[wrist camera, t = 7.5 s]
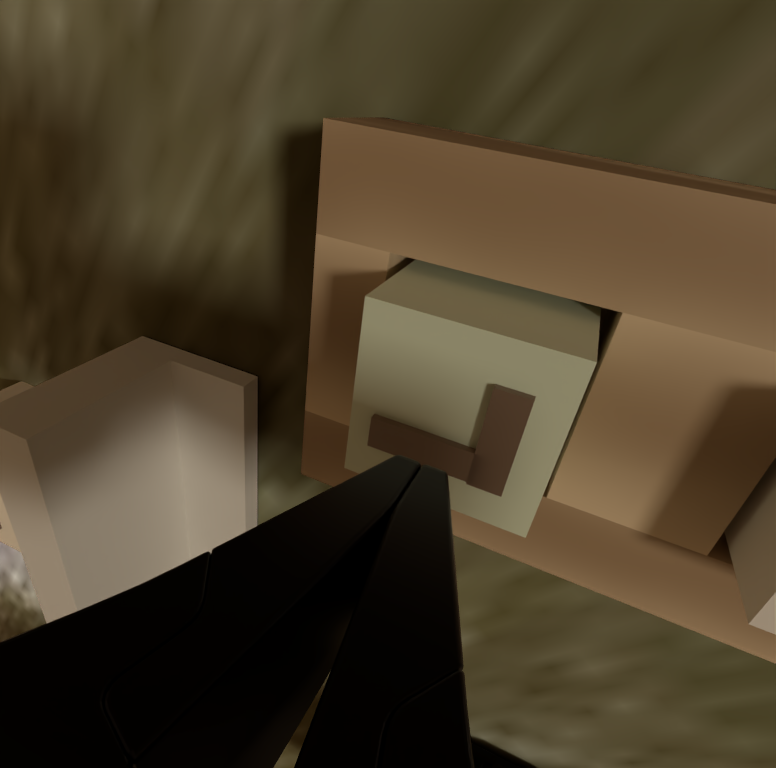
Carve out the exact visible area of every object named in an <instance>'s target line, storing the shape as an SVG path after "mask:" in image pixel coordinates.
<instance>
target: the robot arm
mask: <svg viewBox="0 0 776 768" xmlns="http://www.w3.org/2000/svg"><path fill="white" fill-rule="evenodd" d="M462 670H463V654H462V642H461V629H460V617H459V605H458V592H457V580H456V567H455V555H454V542H453V530H452V518H451V505H450V493H449V480H448V474H447V473H446V472H445V471H443V470H440V469H438V468H435V467H432V466H430V465H423V466H421V464H420V462H418V461H416V460H413V459H411V458H408V457H405V456H402V455H395V456H393V457H391V458H389V459H387V460H385V461H383V462H381V463H379V464H377V465H375V466H373V467H371V468H369V469H367V470H366V471H364V472H362V473H360V474H358V475H356V476H354V477H352V478H350V479H348V480H346V481H344V482H342V483H340V484H338V485H336V486H334V487H332V488H330V489H328V490H326V491H324V492H322V493H321V494H319V495H317V496H315V497H313V498H311V499H309V500H307V501H305V502H303V503H301V504H299V505H297V506H295V507H293V508H291V509H289V510H287V511H285V512H283V513H281V514H279V515H278V516H276V517H274V518H272V519H270V520H268V521H266V522H264V523H262V524H260V525H258V526H256V527H254V528H252V529H250V530H248V531H246V532H244V533H242V534H240V535H238V536H236V537H234V538H233V539H231V540H229V541H227V542H225V543H223V544H221V545H219V546H217V547H215V548H213V549H212V553H210V552H208V551H207V552H205V553H203V554H201V555H199V556H197V557H195V558H193V559H191V560H189V561H187V562H185V563H183V564H181V565H179V566H177V567H175V568H173V569H171V570H169V571H167V572H165V573H162V574H160V575H158V576H156V577H154V578H152V579H150V580H148V581H146V582H144V583H142V584H140V585H137V586H135V587H133V588H130V589H128V590H126V591H123V592H121V593H119V594H116V595H114V596H112V597H109V598H107V599H105V600H102V601H100V602H98V603H95V604H93V605H91V606H88V607H86V608H83V609H81V610H78V611H76V612H73V613H71V614H69V615H66V616H64V617H61V618H59V619H56V620H54V621H51V622H49V623H46V624H44V625H41V626H39V627H36V628H34V629H32V630H29V631H27V632H24V633H22V634H19V635H17V636H14V637H12V638H9V639H7V640H4V641H2V642H0V768H273V767H274V766H275V764H276V762H277V761H278V759H279V757H280V755H281V754H282V752H283V750H284V749H285V747H286V745H287V744H288V742H289V740H290V739H291V737H292V735H293V733H294V732H295V730H296V728H297V727H298V725H299V723H300V722H301V720H302V718H303V716H304V715H305V713H306V711H307V710H308V708H309V706H310V705H311V703H312V701H313V700H314V698H315V696H316V694H317V693H318V691H319V689H320V688H321V686H322V684H323V683H324V681H325V679H326V677H327V676H328V674H329V672H330V671H331V672H330V674H329V677H328V680H327V682H326V685H325V688H324V690H323V693H322V695H321V698H320V701H319V703H318V706H317V709H316V711H315V714H314V717H313V719H312V722H311V724H310V727H309V730H308V732H307V735H306V738H305V740H304V743H303V746H302V748H301V751H300V753H299V756H298V759H297V761H296V764H295V767H294V768H520V767H518V766H516V765H514V764H512V763H510V762H508V761H506V760H504V759H502V758H500V757H498V756H496V755H494V754H492V753H490V752H488V751H486V750H484V749H482V748H480V747H478V746H476V745H474V744H472V743H471V736H470V727H469V719H468V710H467V699H466V687H465V675H464V672H463V671H462Z"/></svg>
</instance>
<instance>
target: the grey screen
mask: <svg viewBox="0 0 776 768" xmlns="http://www.w3.org/2000/svg"><path fill="white" fill-rule="evenodd" d="M257 433H258V376H255V375H252V374H249V373H246V372H244V371H241V370H238V369H235V368H232V367H229V366H226V365H224V364H221V363H218V362H215V361H212V360H209V359H207V358H204V357H201V356H198V355H195V354H192V353H190V352H187V351H184V350H181V349H178V348H175V347H173V346H170V345H167V344H164V343H161V342H158V341H155V340H153V339H150V338H147V337H144V336H141V337H139V338H137V339H135V340H133V341H131V342H129V343H126V344H124V345H122V346H120V347H118V348H116V349H114V350H111V351H109V352H107V353H105V354H103V355H101V356H99V357H96V358H94V359H92V360H90V361H88V362H86V363H84V364H81V365H79V366H77V367H75V368H73V369H71V370H69V371H66V372H64V373H62V374H60V375H58V376H56V377H54V378H51V379H49V380H47V381H45V382H43V383H41V384H39V385H36V386H34V387H32V388H30V389H28V390H26V391H24V392H21V393H19V394H17V395H15V396H13V397H11V398H9V399H6V400H4V401H2V402H0V494H1V497H2V500H3V503H4V505H5V508H6V511H7V514H8V516H9V519H10V522H11V525H12V528H13V530H14V533H15V536H16V539H17V542H18V544H19V547H20V550H21V553H22V556H23V558H24V561H25V564H26V567H27V570H28V572H29V575H30V578H31V581H32V584H33V586H34V589H35V592H36V595H37V597H38V600H39V603H40V606H41V609H42V611H43V614H44V617H45V620H46V623H49V622H51V621H54V620H56V619H59V618H61V617H64V616H66V615H69V614H71V613H73V612H76V611H78V610H81V609H83V608H86V607H88V606H91V605H93V604H95V603H98V602H100V601H102V600H105V599H107V598H109V597H112V596H114V595H116V594H119V593H121V592H123V591H126V590H128V589H130V588H133V587H135V586H137V585H140V584H142V583H144V582H146V581H148V580H150V579H152V578H154V577H156V576H158V575H160V574H162V573H165V572H167V571H169V570H171V569H173V568H175V567H177V566H179V565H181V564H183V563H185V562H187V561H189V560H191V559H193V558H195V557H197V556H199V555H201V554H203V553H205V552H207V551H208V552H210V553H212V549H213V548H215V547H217V546H219V545H221V544H223V543H225V542H227V541H229V540H231V539H233V538H234V537H236V536H238V535H240V534H242V533H244V532H246V531H248V530H250V529H252V528H254V527H256V526H257Z"/></svg>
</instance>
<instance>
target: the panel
mask: <svg viewBox="0 0 776 768" xmlns="http://www.w3.org/2000/svg"><path fill="white" fill-rule="evenodd" d="M416 259H417V260H421V261H424V262H428V263H432V264H436V265H440V266H444V267H448V268H452V269H455V270H459V271H463V272H467V273H471V274H475V275H479V276H483V277H486V278H490V279H494V280H498V281H502V282H506V283H510V284H514V285H517V286H521V287H525V288H529V289H533V290H537V291H541V292H545V293H548V294H552V295H556V296H560V297H564V298H568V299H572V300H576V301H579V302H583V303H587V304H591V305H595V306H599V307H601V315H600V329H599V342H598V355H597V363H596V366H595V368H594V371H593V373H592V376H591V378H590V381H589V383H588V386H587V388H586V391H585V393H584V395H583V398H582V400H581V403H580V405H579V408H578V410H577V413H576V415H575V418H574V420H573V423H572V425H571V427H570V430H569V432H568V435H567V437H566V440H565V442H564V445H563V447H562V450H561V452H560V455H559V457H558V460H557V462H556V464H555V467H554V469H553V472H552V474H551V477H550V479H549V482H548V484H547V487H546V489H545V492H544V494H543V496H542V499H541V501H540V504H539V506H538V509H537V511H536V514H535V516H534V519H533V521H532V524H531V526H530V528H529V531H528V533H527V536H526V538H524V537H522V536H519V535H517V534H514V533H511V532H509V531H506V530H504V529H501V528H499V527H496V526H493V525H491V524H488V523H486V522H483V521H480V520H478V519H475V518H473V517H470V516H467V515H465V514H462V513H460V512H457V511H455V510H452V509H451V518H452V530H453V535H455V536H458V537H460V538H463V539H465V540H468V541H470V542H473V543H475V544H478V545H480V546H483V547H485V548H488V549H490V550H493V551H495V552H498V553H500V554H503V555H505V556H508V557H510V558H513V559H515V560H518V561H520V562H523V563H525V564H528V565H530V566H533V567H535V568H538V569H540V570H543V571H545V572H548V573H550V574H553V575H555V576H558V577H560V578H563V579H565V580H568V581H570V582H573V583H575V584H578V585H580V586H583V587H585V588H588V589H590V590H593V591H595V592H598V593H600V594H603V595H605V596H608V597H610V598H613V599H615V600H618V601H620V602H623V603H625V604H628V605H630V606H633V607H635V608H638V609H640V610H643V611H645V612H648V613H650V614H653V615H655V616H658V617H660V618H663V619H665V620H668V621H670V622H673V623H675V624H678V625H680V626H683V627H685V628H688V629H690V630H693V631H695V632H698V633H700V634H703V635H705V636H708V637H710V638H713V639H715V640H718V641H720V642H723V643H725V644H728V645H730V646H733V647H735V648H738V649H740V650H743V651H745V652H748V653H750V654H753V655H755V656H758V657H760V658H763V659H765V660H768V661H770V662H773V663H775V664H776V635H775V634H773V633H770V632H767V631H765V630H762V629H760V628H757V627H755V626H752V625H749V624H748V620H747V616H746V613H745V609H744V605H743V601H742V597H741V593H740V590H739V586H738V582H737V578H736V574H735V571H734V567H733V563H732V559H731V555H730V551H729V548H728V544H727V540H726V536H725V532H724V531H725V529H726V528H727V527H728V525H729V524H730V522H731V521H732V519H733V518H734V517H735V515H736V514H737V512H738V511H739V509H740V508H741V507H742V505H743V504H744V502H745V501H746V499H747V498H748V496H749V495H750V494H751V492H752V491H753V489H754V488H755V486H756V485H757V484H758V482H759V481H760V479H761V478H762V476H763V475H764V474H765V472H766V471H767V469H768V468H769V466H770V465H771V463H772V462H773V461H774V459H775V458H776V190H774V189H769V188H763V187H758V186H752V185H747V184H742V183H736V182H731V181H725V180H720V179H714V178H709V177H704V176H698V175H693V174H687V173H682V172H676V171H671V170H666V169H660V168H655V167H649V166H644V165H638V164H633V163H628V162H622V161H617V160H611V159H606V158H600V157H595V156H590V155H584V154H579V153H573V152H568V151H562V150H557V149H552V148H546V147H541V146H535V145H530V144H524V143H519V142H514V141H508V140H503V139H497V138H492V137H486V136H481V135H475V134H470V133H465V132H459V131H454V130H448V129H443V128H437V127H432V126H427V125H421V124H416V123H410V122H405V121H399V120H394V119H389V118H323V134H322V149H321V165H320V181H319V197H318V213H317V229H316V244H315V260H314V276H313V292H312V308H311V324H310V339H309V355H308V371H307V387H306V403H305V419H304V434H303V450H302V466H301V474H303V475H305V476H308V477H310V478H313V479H315V480H318V481H320V482H323V483H325V484H328V485H330V486H333V487H334V486H336V485H338V484H340V483H342V482H344V481H346V480H348V479H350V478H352V477H354V476H356V475H358V474H359V473H356V472H354V471H351V470H349V469H346V468H344V466H345V458H346V449H347V441H348V433H349V425H350V416H351V408H352V400H353V392H354V383H355V375H356V367H357V359H358V350H359V342H360V334H361V326H362V317H363V309H364V301H365V296H366V295H367V294H369V293H370V292H371V291H373V290H374V289H375V288H377V287H378V286H380V285H381V284H382V283H384V282H385V281H387V280H388V279H389V278H391V277H392V276H393V275H395V274H396V273H398V272H399V271H400V270H402V269H403V268H405V267H406V266H407V265H409V264H410V263H412V262H413V261H414V260H416Z"/></svg>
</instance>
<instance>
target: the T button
mask: <svg viewBox="0 0 776 768" xmlns="http://www.w3.org/2000/svg"><path fill="white" fill-rule="evenodd" d="M724 532H725V536H726V540H727V544H728V548H729V551H730V555H731V559H732V563H733V567H734V571H735V574H736V578H737V582H738V586H739V590H740V593H741V597H742V601H743V605H744V609H745V613H746V616H747V620H748V624H749V625H752V626H755V627H757V628H760V629H762V630H765V631H767V632H770V633H773V634H775V635H776V458H775V459H774V461H773V462H772V463H771V465H770V466H769V468H768V469H767V471H766V472H765V474H764V475H763V476H762V478H761V479H760V481H759V482H758V484H757V485H756V486H755V488H754V489H753V491H752V492H751V494H750V495H749V496H748V498H747V499H746V501H745V502H744V504H743V505H742V507H741V508H740V509H739V511H738V512H737V514H736V515H735V517H734V518H733V519H732V521H731V522H730V524H729V525H728V527H727V528H726V529H725V531H724Z"/></svg>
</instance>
